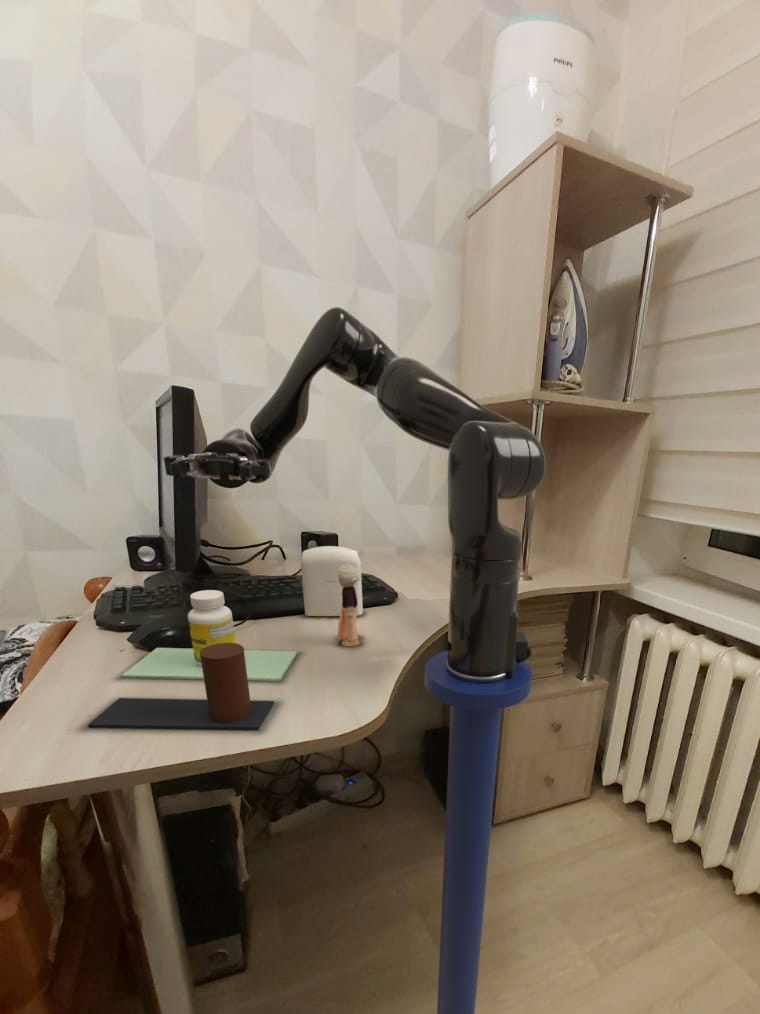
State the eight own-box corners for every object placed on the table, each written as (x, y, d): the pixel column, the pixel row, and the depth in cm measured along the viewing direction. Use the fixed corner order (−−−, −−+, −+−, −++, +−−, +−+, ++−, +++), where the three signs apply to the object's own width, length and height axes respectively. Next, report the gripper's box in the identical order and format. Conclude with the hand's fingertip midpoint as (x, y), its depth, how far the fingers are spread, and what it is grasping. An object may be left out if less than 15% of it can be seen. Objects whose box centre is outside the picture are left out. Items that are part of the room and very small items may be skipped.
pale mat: (297, 653, 77) (297, 651, 77) (279, 681, 69) (279, 678, 69) (157, 650, 75) (156, 647, 75) (122, 677, 67) (121, 675, 67)
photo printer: (302, 617, 91) (297, 548, 86) (306, 609, 95) (301, 543, 90) (362, 618, 93) (360, 550, 88) (363, 610, 97) (361, 544, 92)
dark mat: (274, 703, 63) (273, 700, 63) (258, 730, 58) (257, 727, 58) (120, 700, 62) (119, 697, 62) (88, 727, 56) (87, 724, 56)
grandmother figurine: (334, 634, 85) (330, 559, 80) (357, 632, 86) (355, 558, 81) (341, 653, 78) (338, 572, 73) (367, 650, 80) (365, 571, 75)
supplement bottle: (189, 659, 72) (177, 592, 69) (228, 649, 76) (219, 585, 72) (204, 672, 69) (193, 603, 65) (244, 661, 73) (236, 595, 69)
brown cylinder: (256, 703, 62) (249, 643, 59) (243, 723, 58) (235, 659, 55) (218, 703, 62) (209, 642, 59) (203, 722, 58) (192, 657, 55)
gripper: (181, 436, 84) (148, 439, 70) (274, 441, 88) (261, 445, 73) (188, 483, 87) (158, 496, 73) (278, 486, 91) (266, 499, 76)
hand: (210, 471), depth 73 cm, fingers open, 8 cm apart
